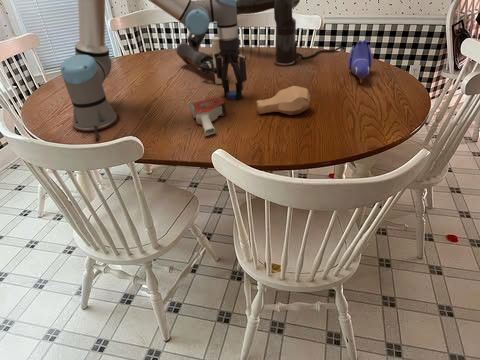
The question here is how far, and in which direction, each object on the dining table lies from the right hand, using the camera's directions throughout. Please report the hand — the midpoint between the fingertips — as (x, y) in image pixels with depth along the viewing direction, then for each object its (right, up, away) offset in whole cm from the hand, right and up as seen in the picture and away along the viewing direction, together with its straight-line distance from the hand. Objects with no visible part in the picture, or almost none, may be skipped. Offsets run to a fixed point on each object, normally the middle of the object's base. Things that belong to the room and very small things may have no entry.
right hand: (221, 70), depth 155 cm
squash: (+24, -22, -22) cm, 40 cm away
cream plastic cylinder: (-1, -4, +6) cm, 7 cm away
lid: (+5, -12, -9) cm, 16 cm away
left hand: (+5, -13, -9) cm, 17 cm away
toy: (+60, -3, +1) cm, 60 cm away
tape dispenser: (-4, -26, -25) cm, 37 cm away
